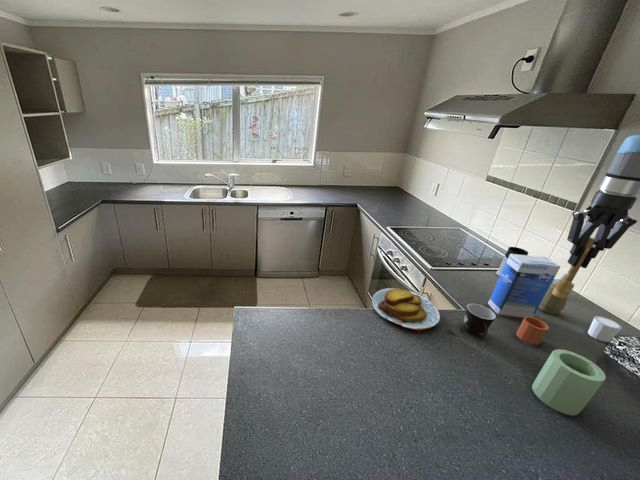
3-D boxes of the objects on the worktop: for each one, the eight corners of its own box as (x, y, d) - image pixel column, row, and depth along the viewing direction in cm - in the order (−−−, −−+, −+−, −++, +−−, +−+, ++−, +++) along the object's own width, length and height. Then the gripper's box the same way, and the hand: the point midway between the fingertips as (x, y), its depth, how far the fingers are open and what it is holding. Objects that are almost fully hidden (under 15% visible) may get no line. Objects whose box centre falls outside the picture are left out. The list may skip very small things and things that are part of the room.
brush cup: (540, 340, 104) (550, 324, 101) (537, 349, 100) (547, 332, 97) (517, 330, 108) (526, 313, 105) (513, 338, 104) (522, 321, 101)
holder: (511, 272, 148) (523, 247, 142) (528, 288, 135) (542, 261, 129) (492, 269, 150) (503, 245, 144) (508, 285, 137) (520, 258, 131)
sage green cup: (581, 401, 82) (606, 367, 77) (578, 423, 76) (604, 388, 71) (535, 376, 90) (555, 343, 84) (528, 395, 84) (549, 361, 78)
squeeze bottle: (565, 316, 117) (587, 280, 110) (546, 316, 117) (566, 280, 110) (547, 304, 124) (566, 269, 117) (529, 303, 124) (547, 268, 117)
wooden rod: (567, 296, 92) (600, 238, 84) (566, 300, 90) (600, 242, 82) (552, 290, 94) (583, 234, 86) (551, 294, 92) (582, 237, 84)
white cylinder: (586, 336, 107) (595, 322, 104) (584, 327, 111) (593, 313, 109) (613, 346, 102) (624, 331, 100) (610, 336, 107) (620, 322, 104)
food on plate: (435, 344, 101) (440, 330, 98) (364, 315, 113) (367, 302, 111) (439, 306, 120) (443, 293, 117) (378, 285, 133) (381, 274, 130)
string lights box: (520, 308, 121) (546, 256, 110) (533, 321, 114) (562, 266, 103) (486, 304, 122) (509, 252, 112) (496, 316, 116) (522, 262, 105)
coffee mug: (461, 320, 112) (469, 300, 108) (487, 332, 107) (497, 311, 103) (454, 335, 105) (462, 314, 101) (482, 349, 99) (492, 327, 95)
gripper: (641, 193, 79) (598, 264, 89) (574, 186, 84) (540, 255, 93) (666, 200, 73) (617, 276, 82) (592, 193, 77) (553, 266, 87)
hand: (576, 265), depth 88 cm, fingers closed on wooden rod, 2 cm apart
